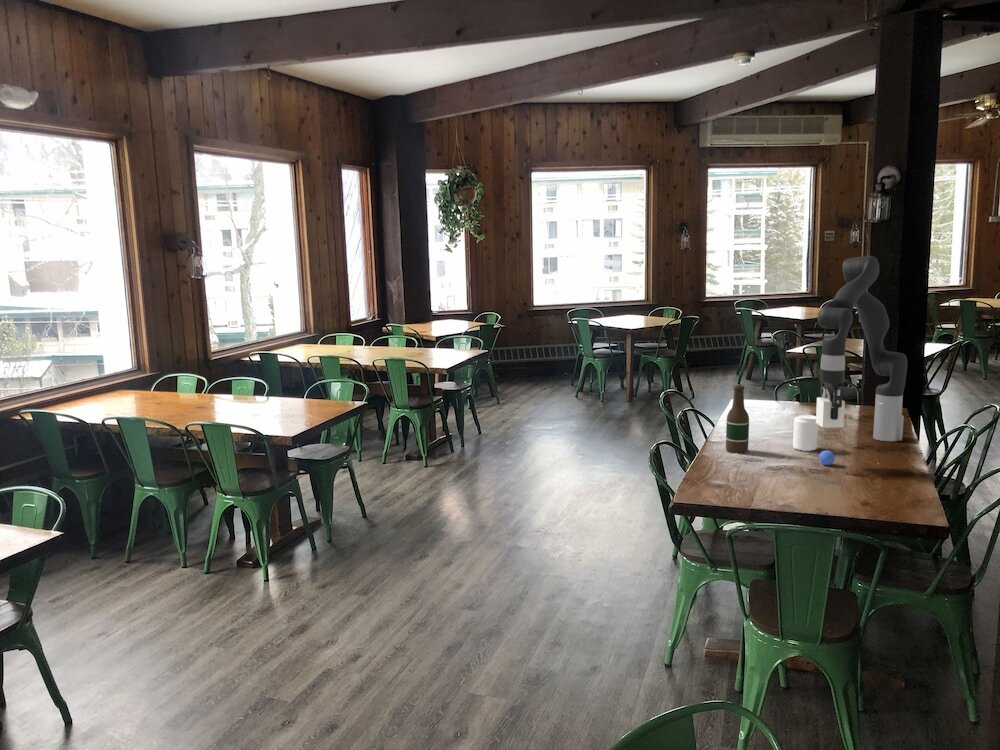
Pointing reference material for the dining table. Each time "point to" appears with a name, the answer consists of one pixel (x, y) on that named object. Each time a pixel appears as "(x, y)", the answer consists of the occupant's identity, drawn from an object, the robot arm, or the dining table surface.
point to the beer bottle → (737, 424)
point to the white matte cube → (828, 414)
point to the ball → (826, 457)
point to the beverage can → (805, 433)
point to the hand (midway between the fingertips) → (830, 416)
